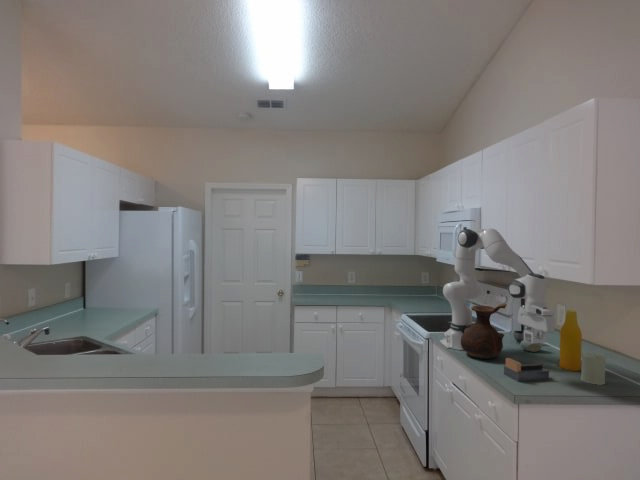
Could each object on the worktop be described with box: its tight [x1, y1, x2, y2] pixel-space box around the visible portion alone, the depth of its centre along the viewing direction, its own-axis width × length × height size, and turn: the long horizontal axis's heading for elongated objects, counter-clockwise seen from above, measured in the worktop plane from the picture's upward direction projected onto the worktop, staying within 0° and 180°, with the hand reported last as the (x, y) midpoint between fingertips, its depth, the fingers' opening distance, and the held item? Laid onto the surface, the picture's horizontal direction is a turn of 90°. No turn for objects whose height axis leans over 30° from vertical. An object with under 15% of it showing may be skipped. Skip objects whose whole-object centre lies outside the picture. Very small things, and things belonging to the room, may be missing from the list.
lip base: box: [503, 357, 550, 383], centre depth 187 cm, size 16×10×8 cm, turn 102°
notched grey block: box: [523, 328, 547, 344], centre depth 188 cm, size 7×6×5 cm
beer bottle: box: [558, 309, 583, 372], centre depth 200 cm, size 9×9×29 cm
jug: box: [461, 303, 507, 360], centre depth 219 cm, size 22×22×30 cm
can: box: [580, 352, 607, 386], centre depth 183 cm, size 9×9×12 cm
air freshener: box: [519, 340, 543, 353], centre depth 231 cm, size 11×8×10 cm
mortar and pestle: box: [512, 328, 532, 345], centre depth 246 cm, size 11×9×12 cm
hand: (534, 337), depth 188 cm, fingers closed on notched grey block, 6 cm apart
